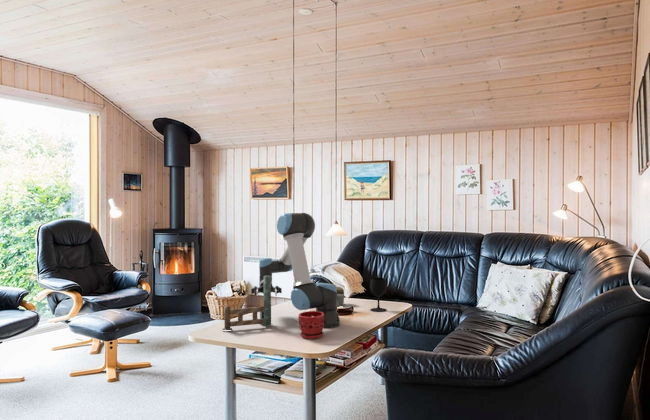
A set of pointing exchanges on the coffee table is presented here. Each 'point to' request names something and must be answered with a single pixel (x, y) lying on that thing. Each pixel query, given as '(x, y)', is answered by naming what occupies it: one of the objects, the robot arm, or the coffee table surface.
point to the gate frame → (260, 318)
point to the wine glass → (378, 291)
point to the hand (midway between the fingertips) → (266, 293)
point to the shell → (340, 290)
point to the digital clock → (340, 300)
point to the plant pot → (311, 324)
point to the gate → (252, 310)
